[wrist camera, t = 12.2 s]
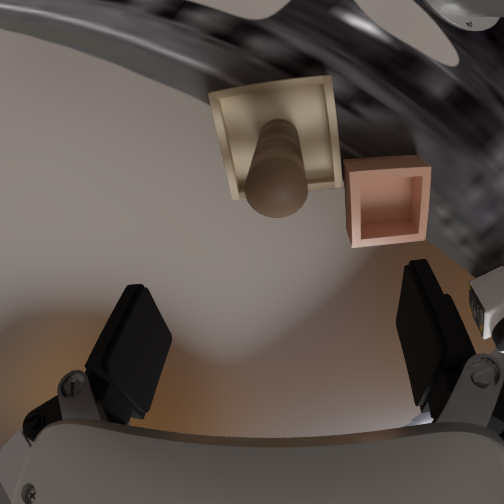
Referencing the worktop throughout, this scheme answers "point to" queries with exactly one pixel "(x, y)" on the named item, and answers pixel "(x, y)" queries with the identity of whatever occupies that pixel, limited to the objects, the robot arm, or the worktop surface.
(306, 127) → the tray
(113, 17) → the worktop surface
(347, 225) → the pink square box
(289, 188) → the dowel
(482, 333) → the medicine bottle
